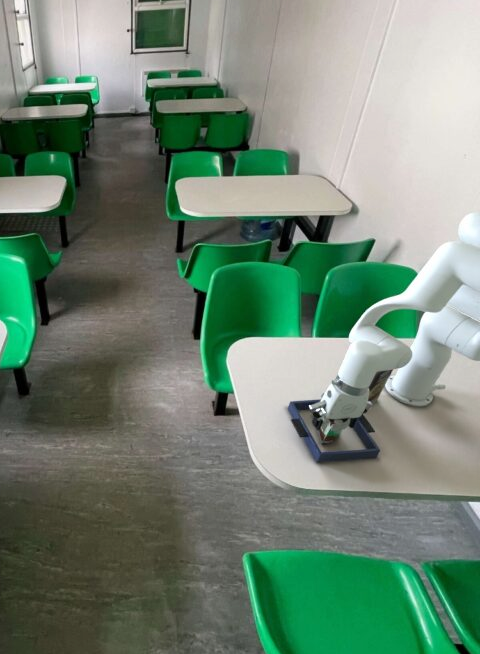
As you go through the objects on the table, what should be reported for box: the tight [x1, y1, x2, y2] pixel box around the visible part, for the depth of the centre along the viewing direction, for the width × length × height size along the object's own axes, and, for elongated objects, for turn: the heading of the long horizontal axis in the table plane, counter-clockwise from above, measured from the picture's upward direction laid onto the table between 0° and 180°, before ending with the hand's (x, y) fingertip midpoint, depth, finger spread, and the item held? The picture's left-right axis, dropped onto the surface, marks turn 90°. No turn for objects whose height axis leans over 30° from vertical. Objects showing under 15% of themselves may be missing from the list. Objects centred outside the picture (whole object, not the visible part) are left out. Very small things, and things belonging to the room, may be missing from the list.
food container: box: [317, 392, 350, 445], centre depth 119 cm, size 12×6×10 cm, turn 168°
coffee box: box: [368, 369, 394, 404], centre depth 127 cm, size 9×6×16 cm
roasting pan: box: [287, 398, 382, 463], centre depth 121 cm, size 21×19×4 cm
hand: (332, 424), depth 120 cm, fingers open, 9 cm apart
